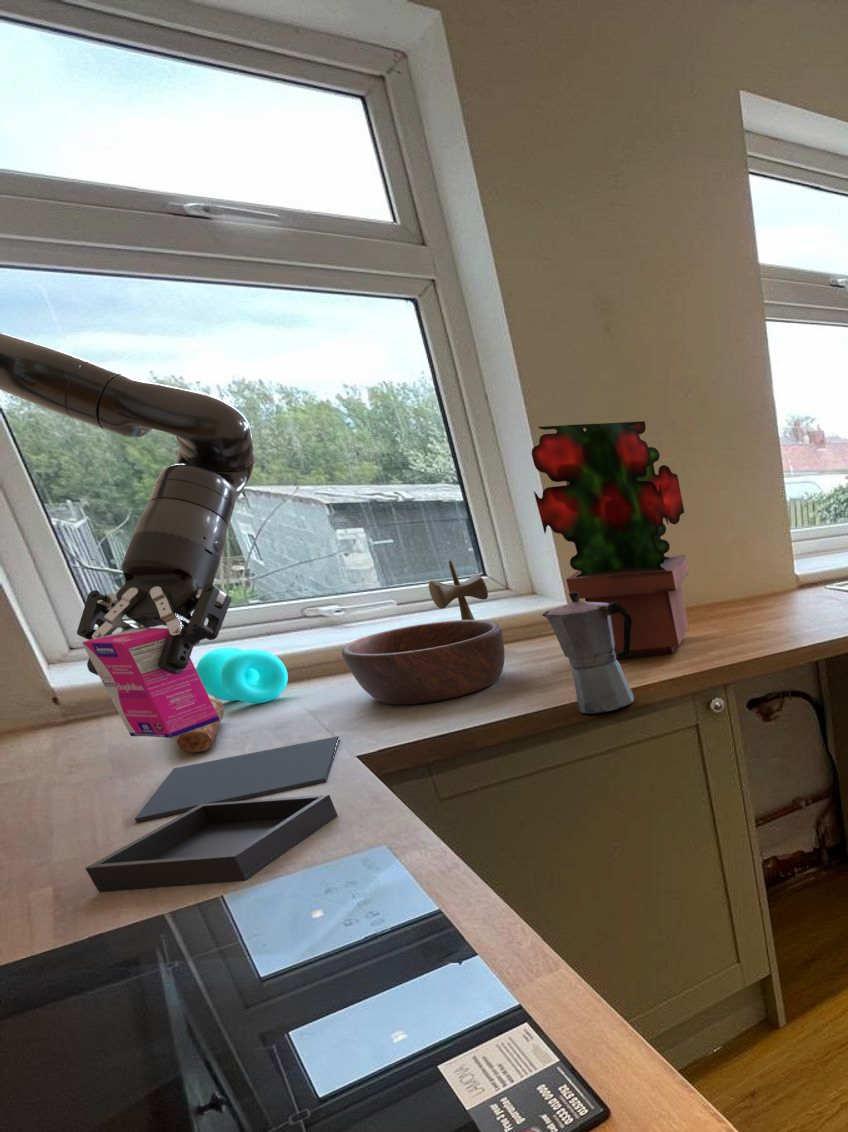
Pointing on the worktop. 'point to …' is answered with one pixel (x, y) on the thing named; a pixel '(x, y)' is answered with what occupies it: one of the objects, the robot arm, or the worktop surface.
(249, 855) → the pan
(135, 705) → the supplement box
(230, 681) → the donuts
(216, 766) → the mat
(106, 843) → the worktop surface
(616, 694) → the moka pot
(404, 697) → the wooden bowl
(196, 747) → the bread
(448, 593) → the kendama
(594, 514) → the potted plant
